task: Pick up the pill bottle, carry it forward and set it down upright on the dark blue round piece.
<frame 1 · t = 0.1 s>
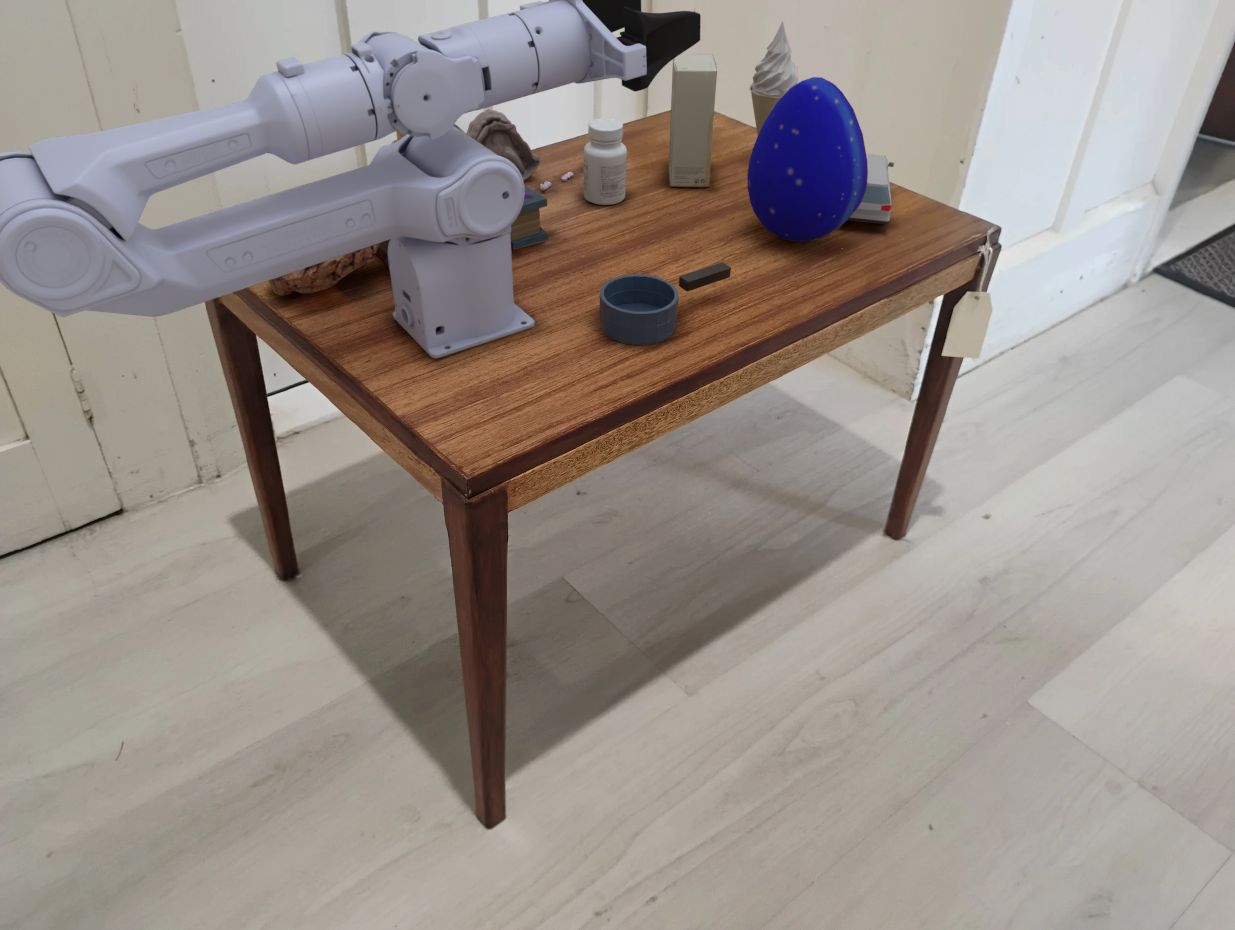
hand: (667, 15, 76), 22 cm above the table, tool horizontal, fingers open, 7 cm apart
toy car: (858, 205, 101), on the table
pill bottle: (604, 199, 101), on the table
ice cream cone: (763, 163, 109), on the table
cosmetic box: (687, 178, 105), on the table
decorative book: (455, 241, 92), on the table, touching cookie
ornament: (793, 236, 95), on the table
pink lumpy pieces: (548, 187, 103), on the table
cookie: (317, 242, 83), point 4 cm above the table, touching decorative book
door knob: (422, 162, 94), point 5 cm above the table
dental mold: (501, 152, 100), point 4 cm above the table
dark blue round piece: (637, 324, 81), on the table
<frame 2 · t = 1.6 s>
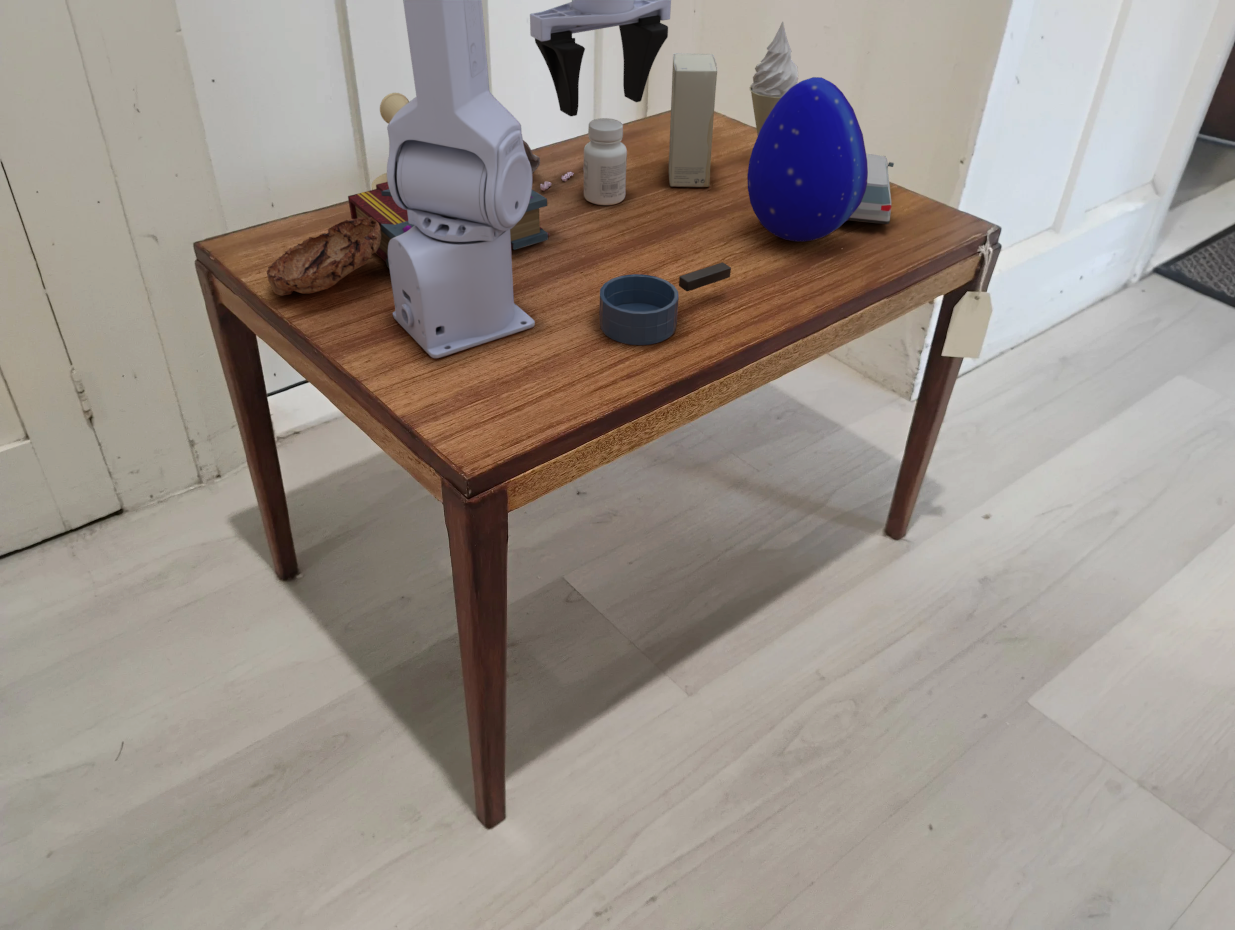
hand: (601, 105, 95), 9 cm above the table, tool pointing down, fingers open, 7 cm apart
nothing on the table moved.
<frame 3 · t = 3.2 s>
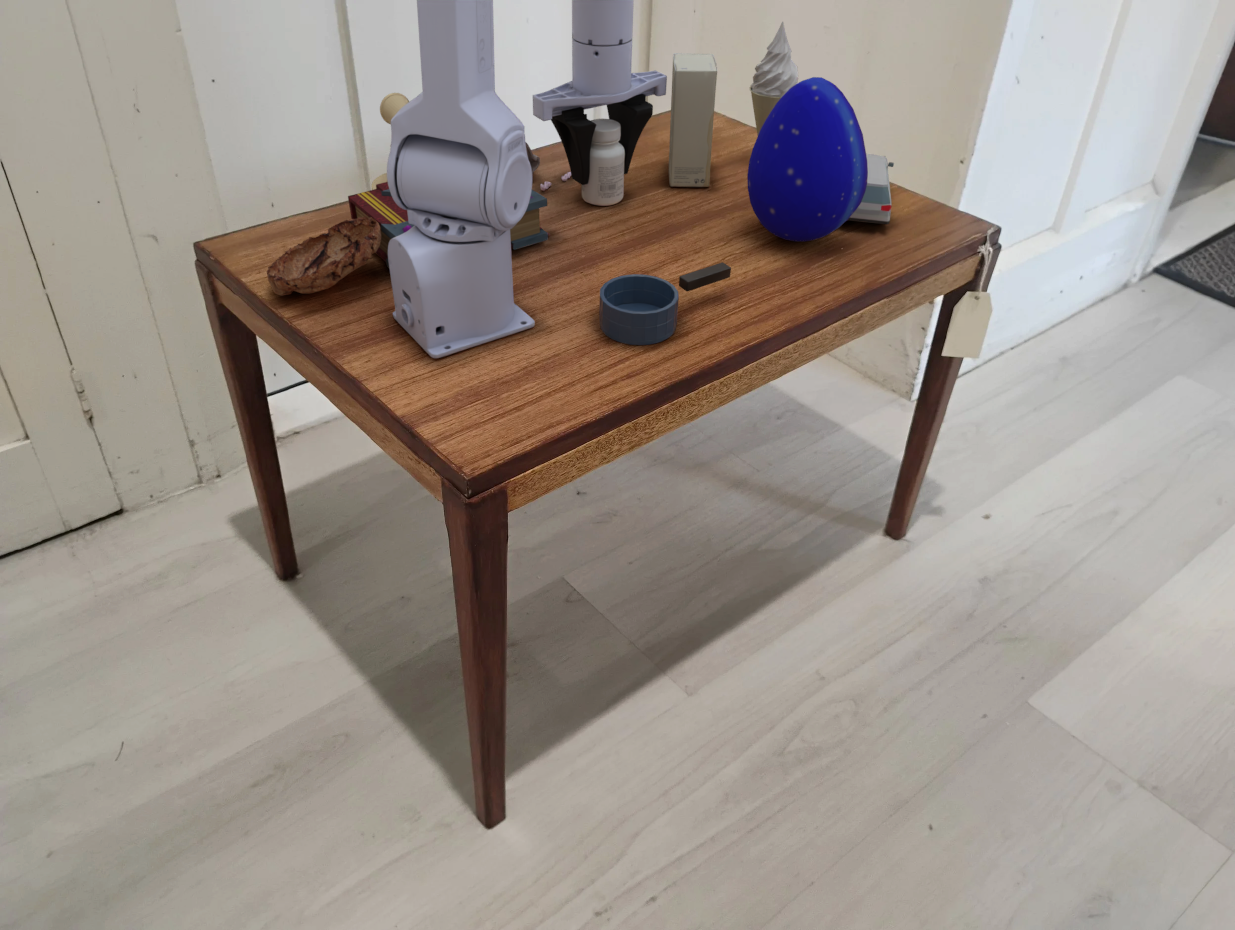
hand: (600, 175, 99), 2 cm above the table, tool pointing down, fingers closed on pill bottle, 4 cm apart
pill bottle: (602, 199, 101), on the table, touching gripper
everything else where it was.
when the fingers open (4 cm above the table, at t = 13.5 s): pill bottle drops 1 cm, resting on dark blue round piece.
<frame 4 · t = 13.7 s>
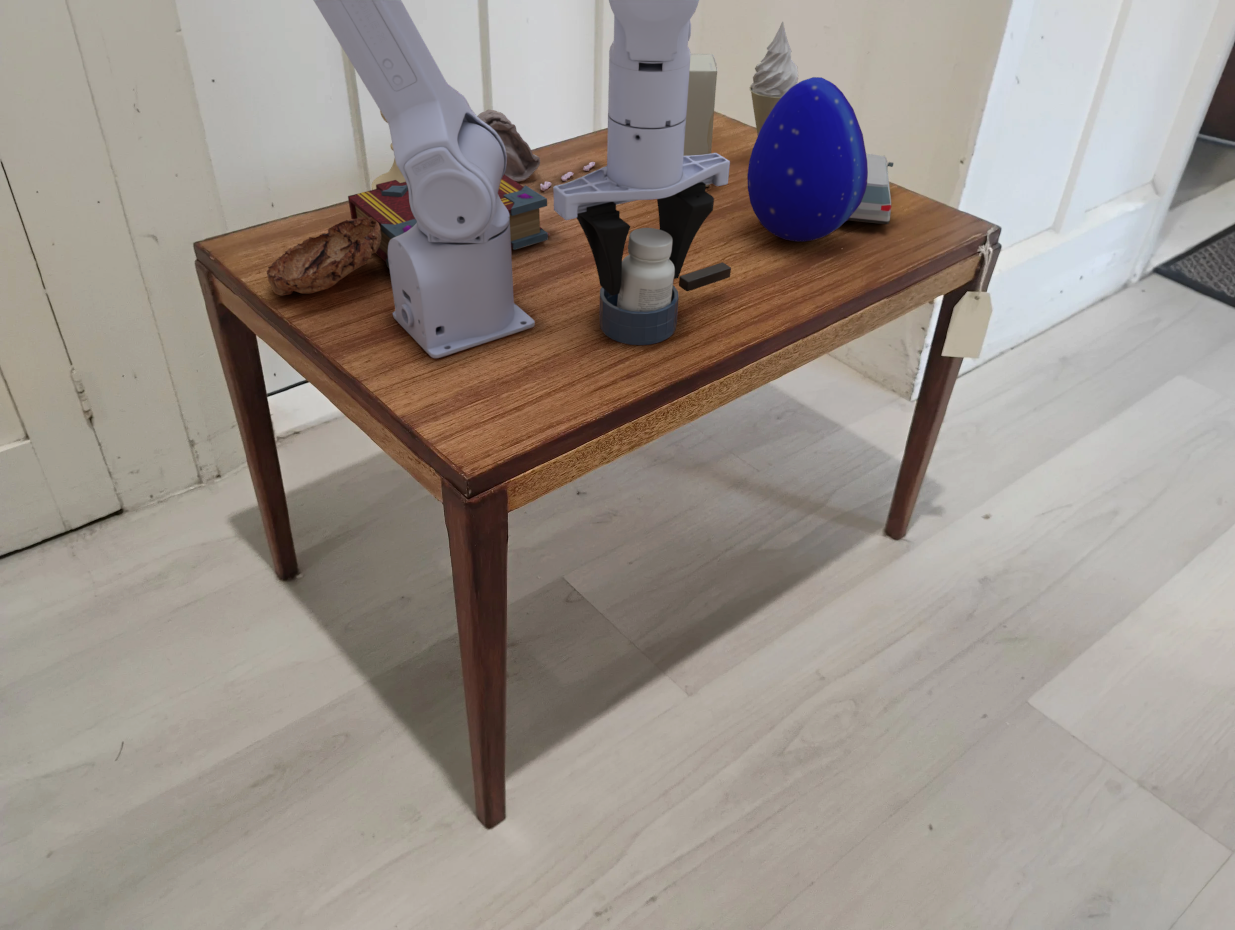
hand: (639, 281, 79), 4 cm above the table, tool pointing down, fingers open, 5 cm apart
pill bottle: (641, 324, 81), resting on dark blue round piece, touching gripper
everything else where it was.
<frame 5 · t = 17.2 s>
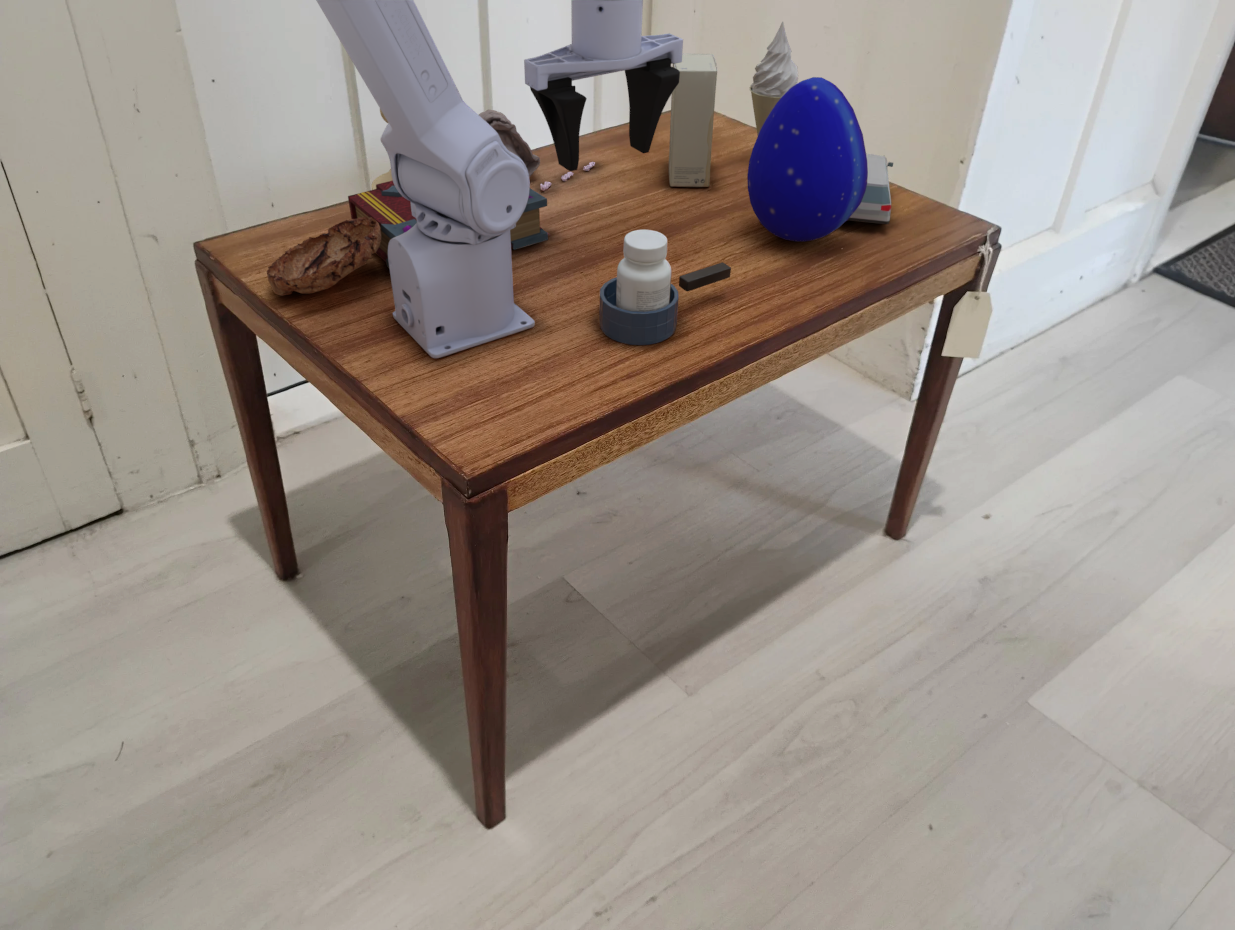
hand: (604, 157, 85), 9 cm above the table, tool pointing down, fingers open, 7 cm apart
pill bottle: (641, 325, 81), resting on dark blue round piece
everything else where it was.
at the end: pill bottle 0.6 cm off-centre in the dark blue round piece, point 0.2 cm above the dark blue round piece's base; pill bottle tilted 0°; the gripper is holding nothing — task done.
